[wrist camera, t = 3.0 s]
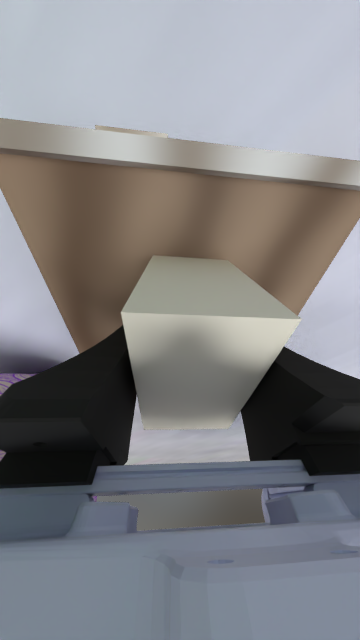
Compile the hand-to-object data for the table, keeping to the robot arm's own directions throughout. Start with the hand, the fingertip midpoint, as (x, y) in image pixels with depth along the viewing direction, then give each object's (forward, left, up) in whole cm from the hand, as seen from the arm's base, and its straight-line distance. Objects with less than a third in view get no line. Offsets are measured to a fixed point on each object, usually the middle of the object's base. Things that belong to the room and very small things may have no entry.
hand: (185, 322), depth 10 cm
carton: (0, 0, -2) cm, 2 cm away
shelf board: (0, -1, -3) cm, 4 cm away
